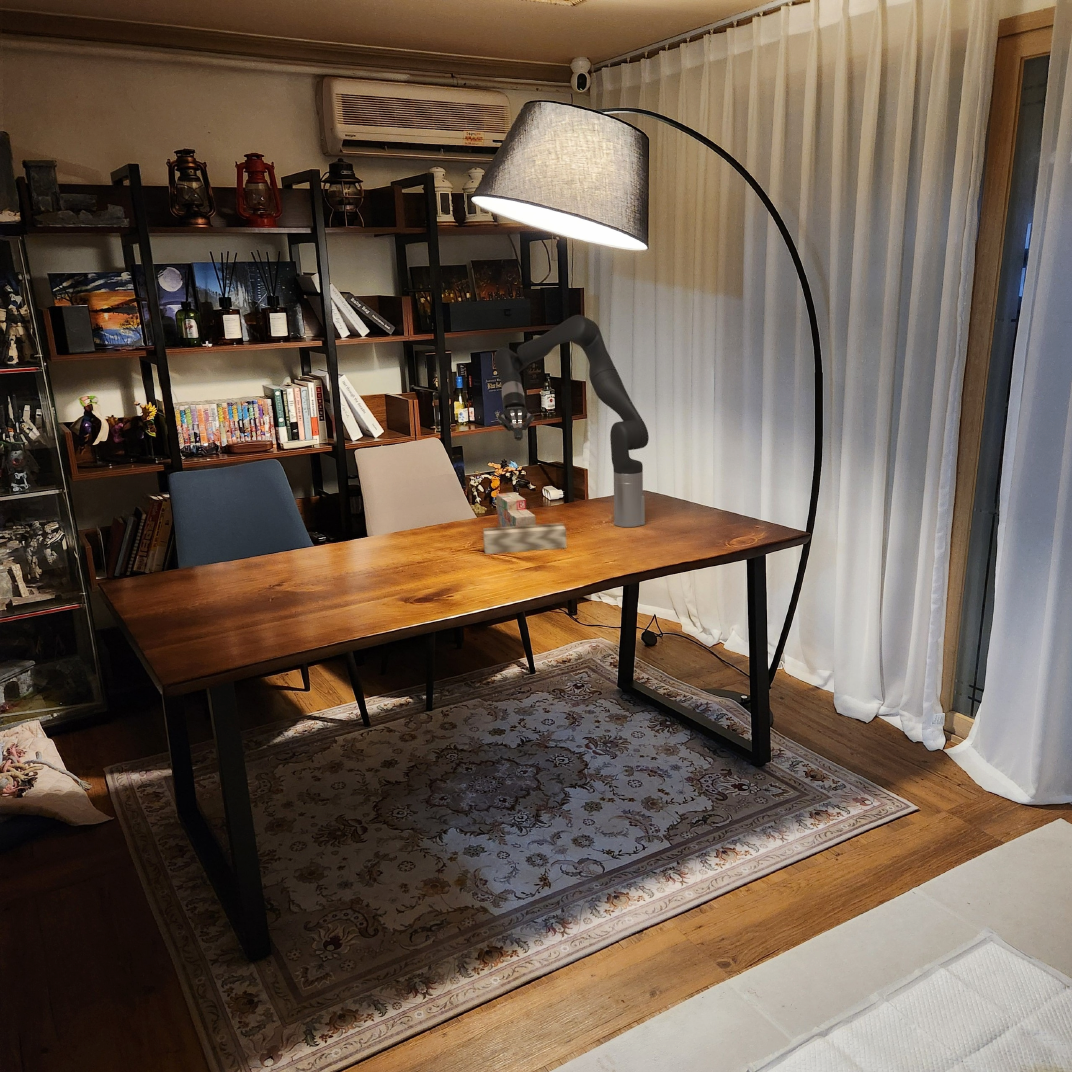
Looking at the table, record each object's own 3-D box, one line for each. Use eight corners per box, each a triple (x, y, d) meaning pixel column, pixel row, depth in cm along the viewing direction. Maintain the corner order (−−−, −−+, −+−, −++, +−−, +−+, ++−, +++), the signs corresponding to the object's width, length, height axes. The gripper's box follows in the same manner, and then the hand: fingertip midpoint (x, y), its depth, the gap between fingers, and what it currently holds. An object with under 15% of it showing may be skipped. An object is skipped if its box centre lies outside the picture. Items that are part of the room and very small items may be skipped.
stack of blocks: (536, 545, 277) (534, 505, 274) (516, 547, 275) (514, 507, 272) (516, 528, 297) (514, 491, 293) (497, 530, 295) (495, 493, 292)
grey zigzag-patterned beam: (563, 543, 277) (563, 522, 275) (566, 548, 272) (565, 526, 270) (484, 549, 274) (482, 528, 272) (485, 554, 269) (484, 532, 268)
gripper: (531, 403, 319) (537, 444, 311) (493, 405, 318) (498, 446, 309) (533, 390, 313) (539, 431, 304) (494, 392, 311) (499, 433, 303)
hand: (518, 439), depth 307 cm, fingers closed
